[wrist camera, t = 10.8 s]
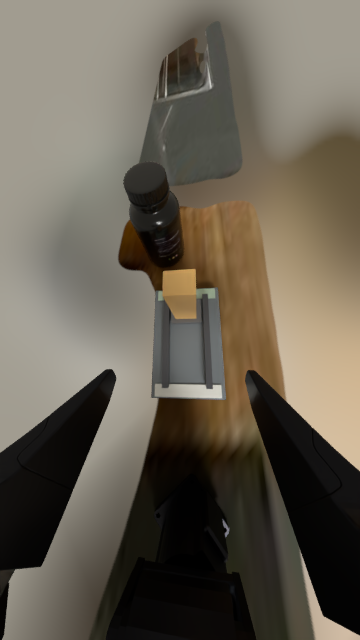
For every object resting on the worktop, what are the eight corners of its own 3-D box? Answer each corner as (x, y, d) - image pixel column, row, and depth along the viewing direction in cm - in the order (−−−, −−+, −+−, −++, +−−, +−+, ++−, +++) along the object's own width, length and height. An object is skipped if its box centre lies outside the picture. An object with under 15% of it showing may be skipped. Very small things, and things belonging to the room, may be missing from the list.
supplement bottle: (143, 249, 28) (104, 173, 16) (173, 231, 28) (156, 144, 16) (159, 275, 26) (129, 211, 14) (191, 256, 26) (187, 177, 14)
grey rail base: (223, 396, 20) (227, 402, 17) (154, 394, 21) (148, 400, 18) (216, 291, 24) (218, 283, 21) (158, 294, 25) (153, 287, 22)
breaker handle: (201, 323, 21) (204, 299, 12) (172, 324, 22) (154, 302, 13) (200, 300, 22) (202, 263, 13) (172, 302, 23) (156, 266, 14)
